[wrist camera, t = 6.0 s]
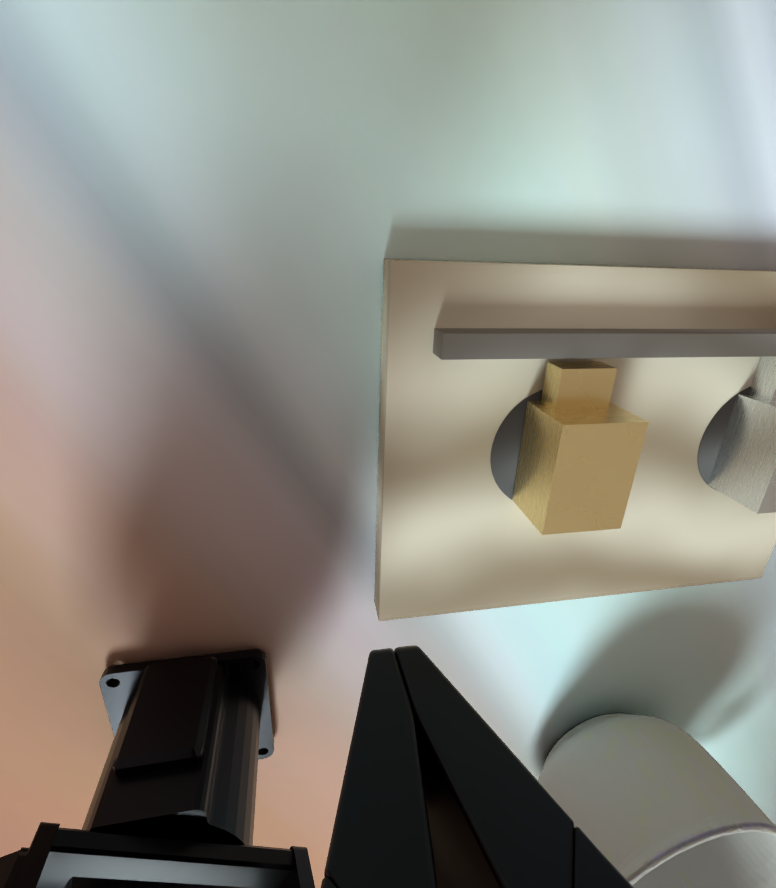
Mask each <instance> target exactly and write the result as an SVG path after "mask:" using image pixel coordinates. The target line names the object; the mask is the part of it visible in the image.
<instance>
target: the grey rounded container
mask: <svg viewBox="0 0 776 888" xmlns="http://www.w3.org/2000/svg"><path fill="white" fill-rule="evenodd" d="M538 782H539V783H540V784H541V785H542V786H543V787H544V789H545V790H546V791H547V792H548V793H549V794H550V795H551V796H552V798H553V799H554V800H555V801H556V802H557V803H558V804H559V805H560V807H561V808H562V809H563V810H564V811H565V812H566V813H567V814H568V816H569V817H570V818H571V819H572V820H573V822H574V827H576V826H577V827H579V828H580V829H581V830H582V831H583V832H584V833H585V835H586V836H587V837H588V838H589V839H590V840H591V841H592V843H593V844H594V845H595V846H596V847H597V848H598V849H599V850H600V852H601V853H602V854H603V855H604V856H605V857H606V858H607V859H608V860H609V861H610V862H611V863H612V865H613V866H614V867H615V868H616V869H617V870H618V871H619V872H620V873H621V874H622V875H623V876H624V878H625V879H626V880H627V881H628V882H629V883H630V884H631V885H632V886H633V887H634V888H776V825H775V824H774V823H772V822H771V821H770V819H769V818H768V817H767V816H766V815H765V814H764V813H763V812H762V810H761V809H760V808H759V807H758V806H757V805H756V804H755V803H754V801H753V800H752V799H751V798H750V797H749V796H748V795H747V794H746V792H745V791H744V790H743V789H742V788H741V787H740V786H739V785H738V784H737V783H736V781H735V780H734V779H733V778H732V777H731V776H730V775H729V774H728V773H727V772H726V771H725V770H724V769H723V767H722V766H721V765H720V764H719V763H718V762H717V761H716V760H715V759H714V758H713V757H712V756H711V755H710V754H709V753H708V752H707V751H706V750H705V749H704V748H703V747H702V746H701V745H700V744H699V743H698V742H697V741H696V740H695V739H693V738H692V737H691V736H690V735H689V734H688V733H686V732H685V731H683V730H682V729H681V728H679V727H677V726H676V725H674V724H672V723H670V722H668V721H665V720H663V719H660V718H656V717H652V716H645V715H630V714H623V713H615V714H606V715H600V716H597V717H594V718H591V719H588V720H586V721H584V722H582V723H580V724H579V725H577V726H576V727H574V728H573V729H571V730H570V731H568V732H567V733H566V734H565V735H564V736H563V737H562V738H560V739H559V740H558V742H557V743H556V744H555V745H554V747H553V748H552V750H551V751H550V753H549V755H548V757H547V759H546V760H545V763H544V767H543V771H542V773H541V775H540V777H539V779H538Z"/></svg>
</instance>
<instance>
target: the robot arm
mask: <svg viewBox="0 0 776 888" xmlns="http://www.w3.org/2000/svg"><path fill="white" fill-rule="evenodd" d="M252 661H257V662H252ZM113 678H115V679H113ZM99 685H100V688H101V692H102V695H103V699H104V702H105V706H106V709H107V713H108V716H109V720H110V723H111V727H112V730H113V734H114V737H115V738H114V740H113V743H112V746H111V749H110V752H109V754H108V757H107V760H106V763H105V766H104V768H103V771H102V774H101V777H100V780H99V782H98V785H97V788H96V791H95V794H94V797H93V799H92V802H91V805H90V808H89V811H88V813H87V816H86V819H85V822H84V825H83V827H82V830H79V829H68V828H59V826H60V824H56V823H46V822H41V823H40V825H39V827H38V830H37V832H36V834H35V836H34V839H33V841H32V843H31V845H30V848H23V847H22V848H21V850H19V851H17V852H14V853H11V854H9V855H6V856H3V857H1V858H0V888H315V885H314V880H313V875H312V870H311V865H310V861H309V856H308V851H307V848H306V847H296V846H292V847H291V848H290V849H283V848H272V847H262V846H252V845H253V829H254V813H255V798H256V782H257V767H258V759H264V758H267V757H269V756H271V755H272V753H273V751H274V736H273V725H272V714H271V703H270V692H269V681H268V670H267V659H266V654H265V653H264V652H263V651H261V650H258V649H252V650H244V651H235V652H227V653H218V654H210V655H201V656H193V657H184V658H176V659H167V660H159V661H150V662H142V663H134V664H125V665H117V666H111V667H108V668H107V669H105V671H104V672H103V674H102V677H101V679H100V684H99ZM321 888H634V887H633V886H632V885H631V884H630V883H629V882H628V881H627V880H626V879H625V878H624V876H623V875H622V874H621V873H620V872H619V871H618V870H617V869H616V868H615V867H614V866H613V865H612V863H611V862H610V861H609V860H608V859H607V858H606V857H605V856H604V855H603V854H602V853H601V852H600V850H599V849H598V848H597V847H596V846H595V845H594V844H593V843H592V841H591V840H590V839H589V838H588V837H587V836H586V835H585V833H584V832H583V831H582V830H581V829H580V828H579V827H577V826H576V827H574V822H573V820H572V819H571V818H570V817H569V816H568V814H567V813H566V812H565V811H564V810H563V809H562V808H561V807H560V805H559V804H558V803H557V802H556V801H555V800H554V799H553V798H552V796H551V795H550V794H549V793H548V792H547V791H546V790H545V789H544V787H543V786H542V785H541V784H540V783H539V782H538V781H537V780H536V778H535V777H534V776H533V775H532V774H531V773H530V772H529V771H528V769H527V768H526V767H525V766H524V765H523V764H522V763H521V761H520V760H519V759H518V758H517V757H516V756H515V755H514V754H513V752H512V751H511V750H510V749H509V748H508V747H507V746H506V745H505V743H504V742H503V741H502V740H501V739H500V738H499V737H498V736H497V734H496V733H495V732H494V731H493V730H492V729H491V728H490V727H489V725H488V724H487V723H486V722H485V721H484V720H483V719H482V718H481V716H480V715H479V714H478V713H477V712H476V711H475V710H474V708H473V707H472V706H471V705H470V704H469V703H468V702H467V701H466V699H465V698H464V697H463V696H462V695H461V694H460V693H459V692H458V690H457V689H456V688H455V687H454V686H453V685H452V684H451V683H450V681H449V680H448V679H447V678H446V677H445V676H444V675H443V674H442V672H441V671H440V670H439V669H438V668H437V667H436V666H435V665H434V663H433V662H432V661H431V660H430V659H429V658H428V657H427V655H426V654H425V653H424V652H423V651H422V650H421V649H420V648H419V647H418V646H405V647H398V648H396V649H395V650H394V651H393V649H390V648H388V649H380V650H373V651H371V652H370V654H369V658H368V663H367V668H366V673H365V678H364V683H363V687H362V692H361V697H360V702H359V707H358V712H357V717H356V721H355V726H354V731H353V736H352V741H351V746H350V751H349V755H348V760H347V765H346V770H345V775H344V780H343V785H342V789H341V794H340V799H339V804H338V809H337V814H336V819H335V823H334V828H333V833H332V838H331V843H330V848H329V853H328V857H327V862H326V867H325V878H324V879H323V881H322V885H321Z"/></svg>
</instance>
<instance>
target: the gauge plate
mask: <svg viewBox="0 0 776 888" xmlns="http://www.w3.org/2000/svg"><path fill="white" fill-rule="evenodd" d="M767 356H776V271H765V270H732V269H698V268H665V267H632V266H599V265H566V264H533V263H500V262H467V261H434V260H400V259H384V272H383V308H382V345H381V381H380V417H379V453H378V489H377V525H376V561H375V598H374V602H375V606H376V610H377V615H378V619H379V621H384V620H393V619H402V618H411V617H420V616H429V615H437V614H446V613H455V612H464V611H473V610H482V609H491V608H499V607H508V606H517V605H526V604H535V603H544V602H552V601H561V600H570V599H579V598H588V597H597V596H606V595H614V594H623V593H632V592H641V591H650V590H659V589H668V588H676V587H685V586H694V585H703V584H712V583H721V582H730V581H738V580H747V579H756V578H761V577H762V575H763V572H764V570H765V567H766V565H767V563H768V560H769V558H770V556H771V553H772V551H773V548H774V546H775V544H776V512H773V513H761V514H757V513H755V512H753V511H752V510H750V509H748V508H746V507H745V506H743V505H741V504H740V503H738V502H736V501H735V500H733V499H731V498H729V497H728V496H726V495H724V494H723V493H721V492H719V491H717V490H716V489H714V488H712V487H711V486H709V485H708V483H709V480H710V477H711V474H712V471H713V468H714V465H715V462H716V459H717V456H718V453H719V450H720V447H721V444H722V441H723V438H724V435H725V432H726V429H727V426H728V423H729V420H730V417H731V414H732V411H733V408H734V405H735V402H736V399H737V396H738V394H749V392H750V389H751V387H750V386H751V383H752V380H753V377H754V374H755V371H756V368H757V365H758V362H759V359H760V357H767ZM588 361H600V362H602V363H605V364H608V365H610V366H613V367H615V368H617V372H616V376H615V381H614V385H613V390H612V394H611V398H610V402H611V403H613V404H615V405H617V406H618V407H620V408H622V409H624V410H626V411H628V412H630V413H632V414H634V415H636V416H638V417H640V418H642V419H644V420H646V421H648V422H649V424H648V427H647V431H646V435H645V439H644V442H643V446H642V450H641V454H640V457H639V461H638V465H637V469H636V473H635V476H634V480H633V484H632V488H631V491H630V495H629V499H628V503H627V507H626V510H625V514H624V518H623V522H622V525H621V529H609V530H597V531H585V532H573V533H561V534H549V535H542V534H541V533H540V532H539V531H538V530H537V528H536V527H535V526H534V525H533V524H532V523H531V521H530V520H529V519H528V518H527V517H526V516H525V514H524V513H523V512H522V511H521V510H520V509H519V507H518V506H517V505H516V504H515V503H514V502H513V500H512V499H513V493H514V486H515V480H516V473H517V467H518V460H519V454H520V447H521V441H522V435H523V428H524V422H525V415H526V409H527V402H528V401H541V396H542V390H543V384H544V378H545V372H546V366H547V362H588Z"/></svg>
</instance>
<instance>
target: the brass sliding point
mask: <svg viewBox="0 0 776 888" xmlns="http://www.w3.org/2000/svg"><path fill="white" fill-rule="evenodd" d="M616 372H617V368H615V367H613V366H610V365H608V364H605V363H602V362H600V361H588V362H547V366H546V372H545V378H544V384H543V390H542V396H541V401H528V402H527V409H526V415H525V422H524V428H523V435H522V441H521V447H520V454H519V460H518V467H517V473H516V480H515V486H514V493H513V499H512V500H513V502H514V503H515V504H516V505H517V506H518V507H519V509H520V510H521V511H522V512H523V513H524V514H525V516H526V517H527V518H528V519H529V520H530V521H531V523H532V524H533V525H534V526H535V527H536V528H537V530H538V531H539V532H540V533H541V534H542V535H549V534H561V533H573V532H585V531H597V530H609V529H621V525H622V522H623V518H624V514H625V510H626V507H627V503H628V499H629V495H630V491H631V488H632V484H633V480H634V476H635V473H636V469H637V465H638V461H639V457H640V454H641V450H642V446H643V442H644V439H645V435H646V431H647V427H648V424H649V422H648V421H646V420H644V419H642V418H640V417H638V416H636V415H634V414H632V413H630V412H628V411H626V410H624V409H622V408H620V407H618V406H617V405H615V404H613V403H611V402H610V398H611V394H612V390H613V385H614V381H615V376H616Z"/></svg>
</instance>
